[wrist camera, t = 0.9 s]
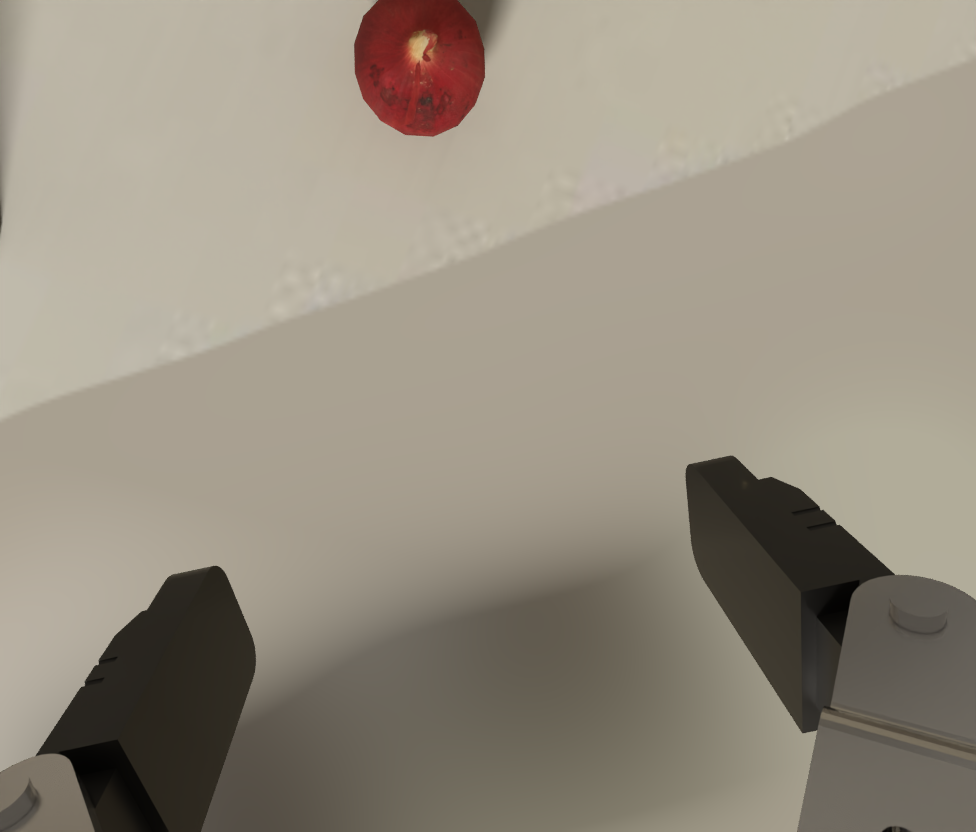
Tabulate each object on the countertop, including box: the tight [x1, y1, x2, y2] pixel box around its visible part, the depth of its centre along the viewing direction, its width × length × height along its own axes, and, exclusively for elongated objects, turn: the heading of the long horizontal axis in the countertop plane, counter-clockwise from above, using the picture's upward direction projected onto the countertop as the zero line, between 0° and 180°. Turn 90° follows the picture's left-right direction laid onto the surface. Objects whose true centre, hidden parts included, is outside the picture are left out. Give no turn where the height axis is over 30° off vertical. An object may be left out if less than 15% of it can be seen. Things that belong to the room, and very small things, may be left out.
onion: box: [354, 0, 485, 136], centre depth 29 cm, size 6×6×8 cm
